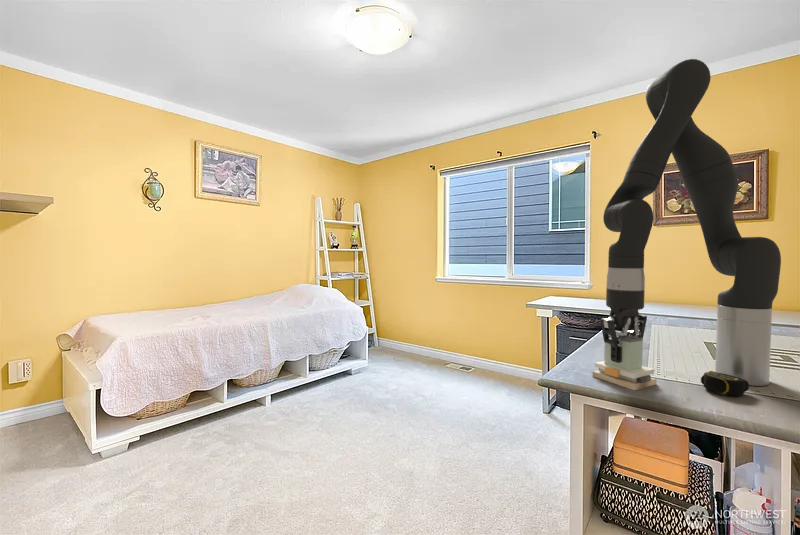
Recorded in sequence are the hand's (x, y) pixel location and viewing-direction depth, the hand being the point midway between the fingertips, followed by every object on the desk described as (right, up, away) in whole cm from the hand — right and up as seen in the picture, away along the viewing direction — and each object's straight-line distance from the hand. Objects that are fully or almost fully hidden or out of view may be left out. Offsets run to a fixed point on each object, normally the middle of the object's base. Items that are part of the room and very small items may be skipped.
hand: (623, 360), depth 84 cm
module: (0, -1, 0) cm, 1 cm away
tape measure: (+17, -5, -7) cm, 19 cm away
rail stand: (0, -5, 0) cm, 5 cm away
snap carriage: (0, -3, 0) cm, 3 cm away
